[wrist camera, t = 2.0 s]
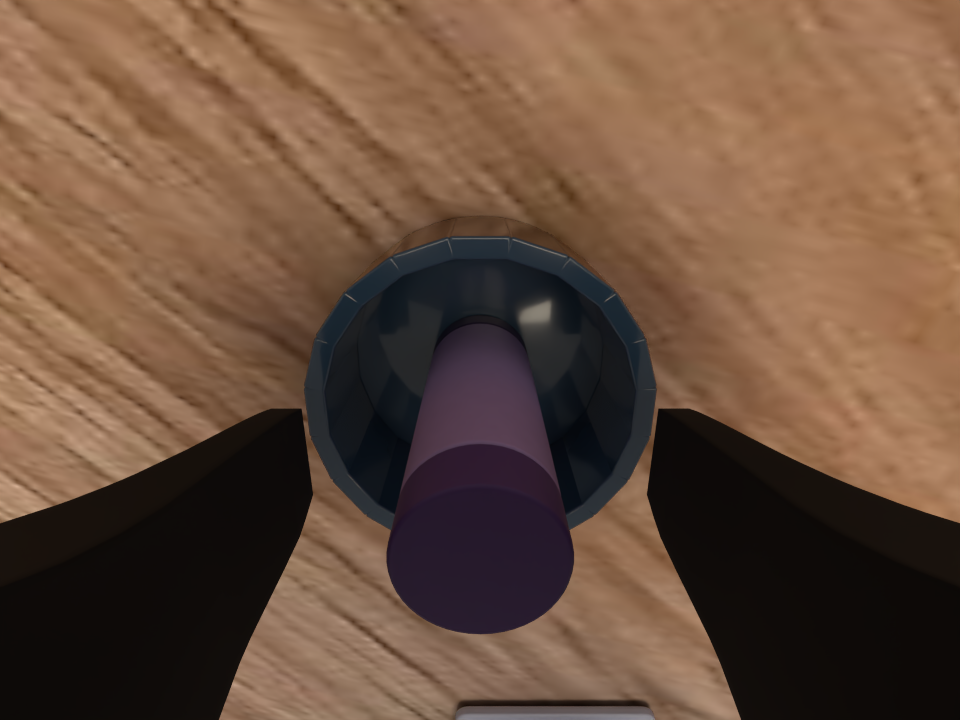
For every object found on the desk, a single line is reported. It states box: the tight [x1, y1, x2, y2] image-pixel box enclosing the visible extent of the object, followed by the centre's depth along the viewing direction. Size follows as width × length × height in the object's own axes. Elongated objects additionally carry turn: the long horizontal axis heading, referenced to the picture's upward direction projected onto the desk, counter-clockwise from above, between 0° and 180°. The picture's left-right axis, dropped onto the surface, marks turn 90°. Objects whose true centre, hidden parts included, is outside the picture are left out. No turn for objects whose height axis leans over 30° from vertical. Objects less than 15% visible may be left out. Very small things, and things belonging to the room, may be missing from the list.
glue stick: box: [387, 315, 574, 634], centre depth 12 cm, size 3×3×8 cm
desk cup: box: [304, 216, 657, 530], centre depth 14 cm, size 8×8×4 cm
